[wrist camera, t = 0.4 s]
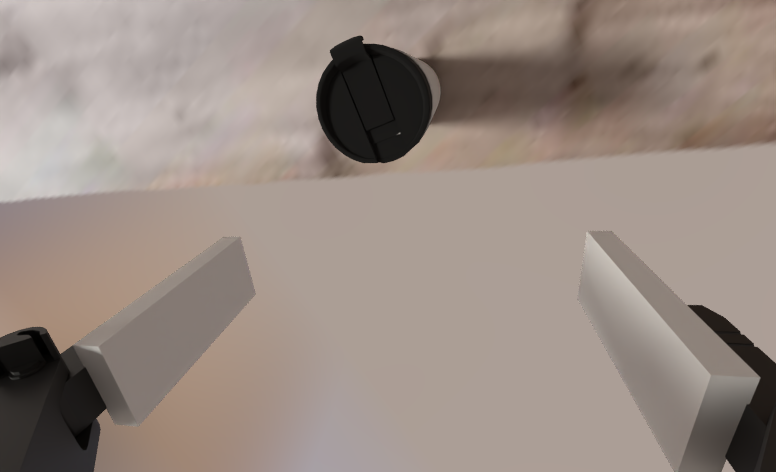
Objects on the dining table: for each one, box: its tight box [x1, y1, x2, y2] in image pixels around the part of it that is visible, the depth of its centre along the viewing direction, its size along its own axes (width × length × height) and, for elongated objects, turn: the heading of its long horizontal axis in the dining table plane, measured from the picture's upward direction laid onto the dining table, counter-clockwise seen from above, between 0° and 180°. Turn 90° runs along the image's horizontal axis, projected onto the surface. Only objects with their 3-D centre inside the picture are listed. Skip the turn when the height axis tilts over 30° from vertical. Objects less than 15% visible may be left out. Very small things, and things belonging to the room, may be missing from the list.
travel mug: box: [316, 36, 441, 163], centre depth 28 cm, size 6×7×20 cm
